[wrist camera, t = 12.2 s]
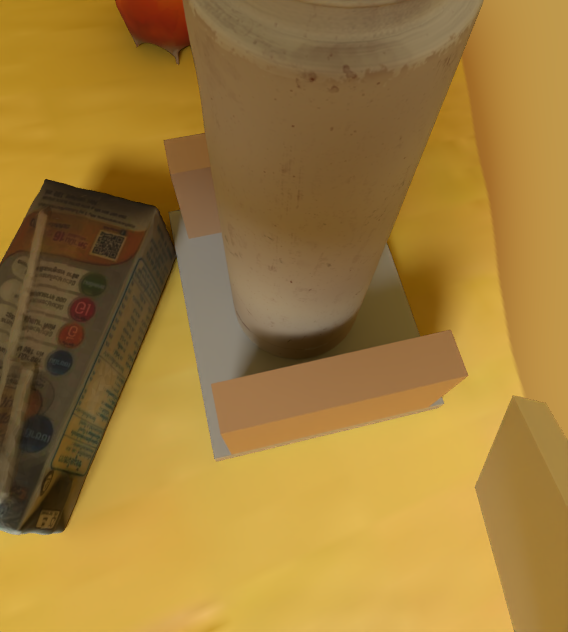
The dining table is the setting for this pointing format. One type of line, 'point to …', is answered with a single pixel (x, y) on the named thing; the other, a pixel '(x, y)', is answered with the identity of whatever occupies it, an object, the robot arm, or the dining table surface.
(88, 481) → the dining table surface
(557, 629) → the robot arm
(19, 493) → the beverage carton
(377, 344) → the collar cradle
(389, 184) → the thermos bottle
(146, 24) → the fruit
